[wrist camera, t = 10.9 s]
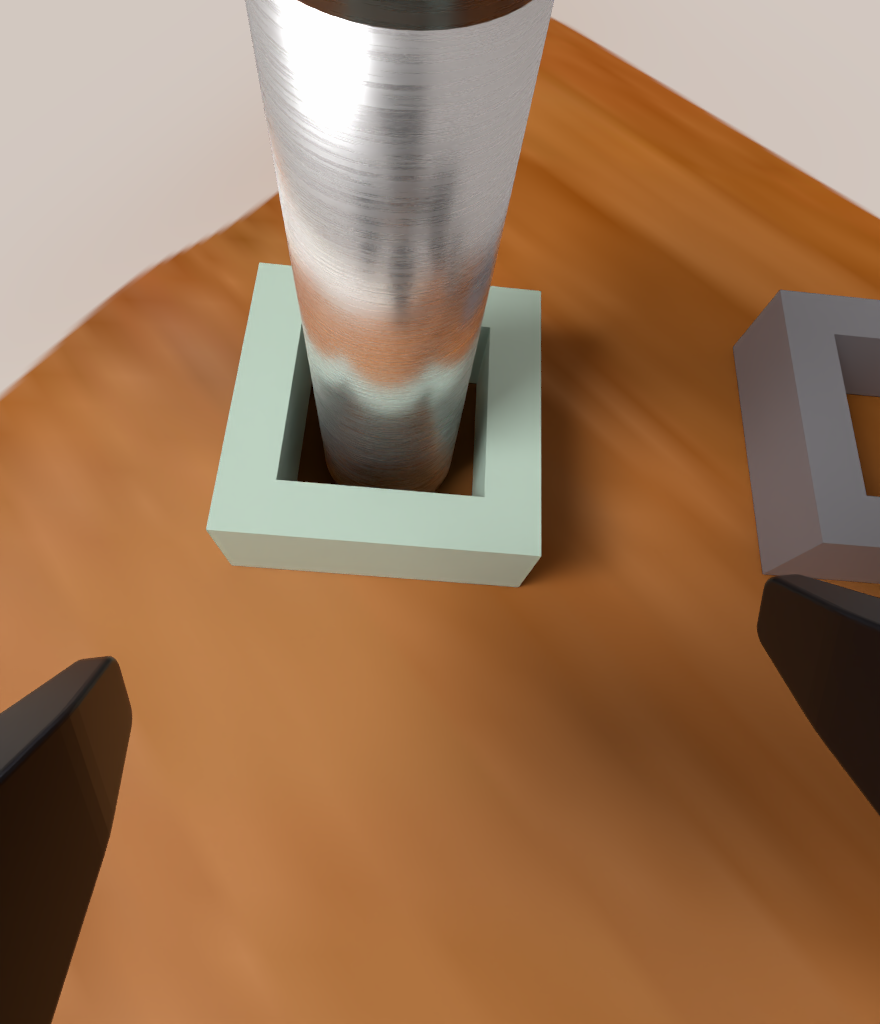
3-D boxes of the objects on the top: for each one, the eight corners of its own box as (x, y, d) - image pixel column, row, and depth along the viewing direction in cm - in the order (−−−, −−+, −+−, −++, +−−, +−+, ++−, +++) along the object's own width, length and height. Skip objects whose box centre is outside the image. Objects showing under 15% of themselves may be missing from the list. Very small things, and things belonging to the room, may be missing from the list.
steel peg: (475, 474, 21) (704, -265, 6) (361, 530, 20) (304, -191, 5) (413, 377, 22) (480, -445, 7) (303, 425, 21) (117, -413, 6)
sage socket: (518, 586, 20) (541, 556, 17) (231, 564, 19) (206, 529, 16) (521, 350, 23) (541, 291, 20) (274, 326, 22) (259, 262, 19)
